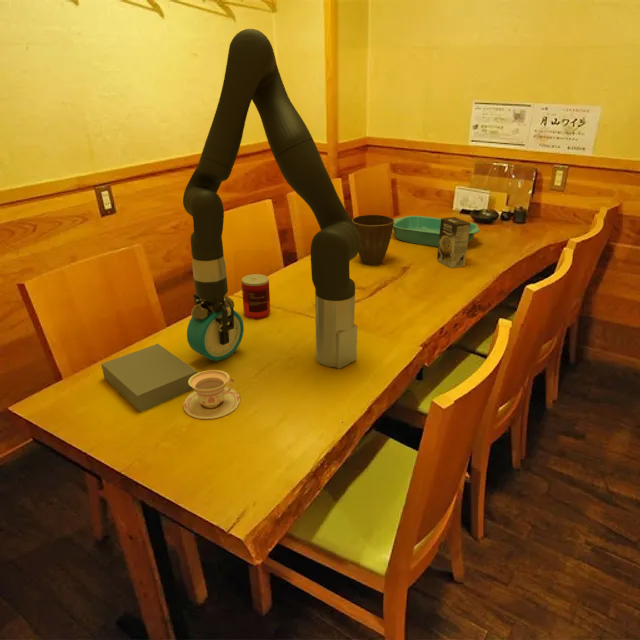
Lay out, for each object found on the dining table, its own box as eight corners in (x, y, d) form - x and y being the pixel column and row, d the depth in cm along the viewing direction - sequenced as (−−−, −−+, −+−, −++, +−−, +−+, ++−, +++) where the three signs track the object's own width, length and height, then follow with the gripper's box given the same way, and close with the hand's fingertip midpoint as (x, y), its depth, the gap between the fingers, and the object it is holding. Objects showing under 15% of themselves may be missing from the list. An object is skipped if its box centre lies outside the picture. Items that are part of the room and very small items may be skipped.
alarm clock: (204, 370, 123) (197, 312, 116) (188, 361, 126) (181, 305, 120) (246, 349, 131) (242, 295, 125) (230, 342, 135) (226, 289, 129)
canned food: (257, 306, 156) (254, 272, 151) (276, 313, 151) (274, 278, 147) (238, 314, 151) (235, 279, 146) (257, 322, 146) (255, 285, 141)
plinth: (198, 386, 116) (197, 371, 114) (140, 412, 108) (137, 395, 106) (160, 357, 128) (157, 343, 126) (104, 378, 119) (101, 363, 118)
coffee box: (436, 261, 193) (440, 218, 186) (450, 258, 195) (454, 216, 188) (451, 268, 185) (456, 224, 178) (465, 266, 188) (471, 222, 181)
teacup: (183, 424, 104) (180, 398, 101) (182, 392, 115) (179, 368, 112) (243, 415, 107) (241, 390, 104) (237, 384, 117) (235, 361, 114)
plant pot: (369, 272, 182) (371, 227, 175) (343, 261, 193) (343, 218, 186) (400, 263, 190) (403, 220, 183) (373, 253, 201) (374, 212, 194)
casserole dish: (381, 240, 217) (382, 223, 214) (403, 228, 234) (404, 212, 231) (468, 255, 200) (470, 237, 196) (484, 240, 217) (487, 223, 213)
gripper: (241, 278, 117) (246, 343, 125) (207, 263, 127) (213, 324, 134) (213, 287, 113) (220, 354, 120) (179, 271, 122) (187, 334, 129)
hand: (216, 338), depth 127 cm, fingers closed on alarm clock, 6 cm apart
